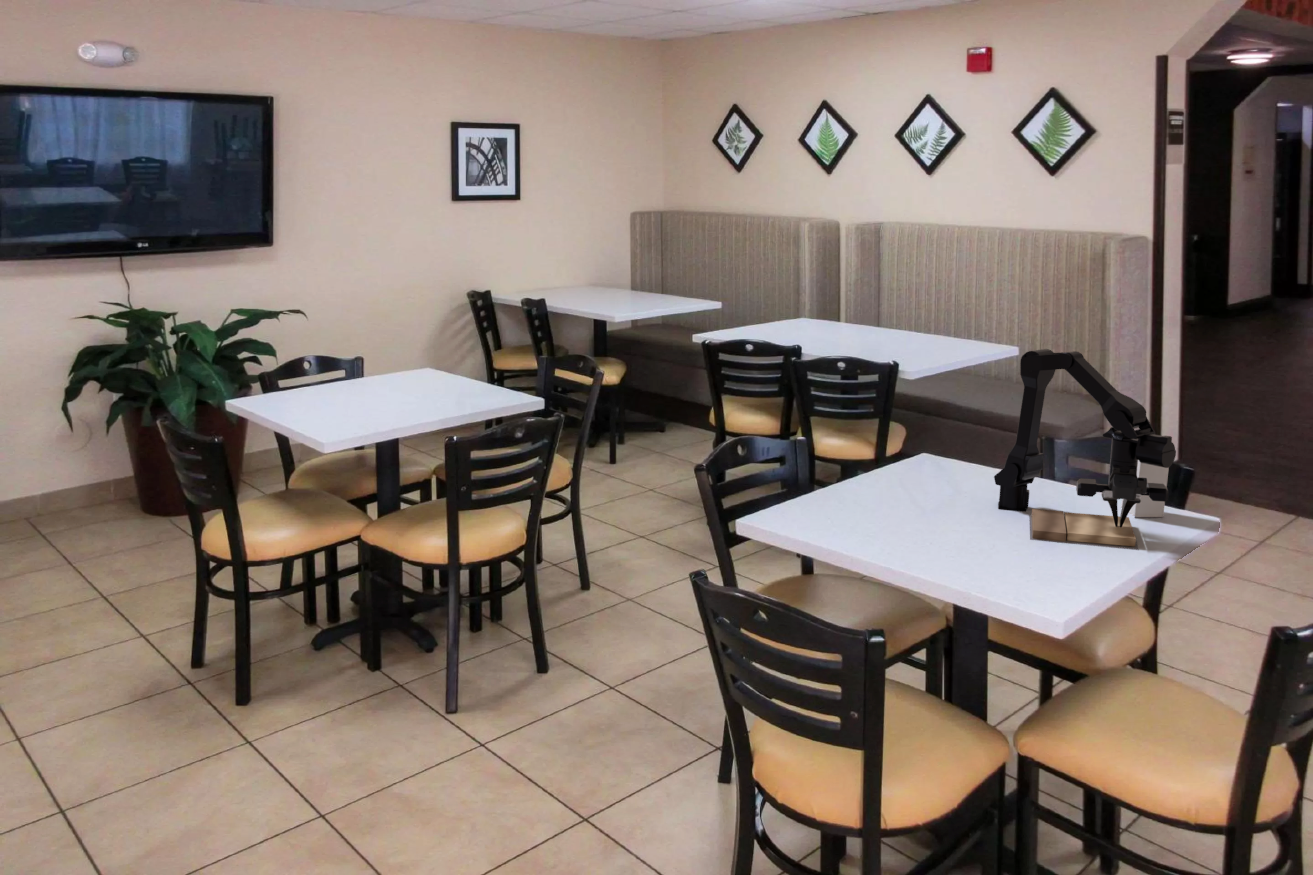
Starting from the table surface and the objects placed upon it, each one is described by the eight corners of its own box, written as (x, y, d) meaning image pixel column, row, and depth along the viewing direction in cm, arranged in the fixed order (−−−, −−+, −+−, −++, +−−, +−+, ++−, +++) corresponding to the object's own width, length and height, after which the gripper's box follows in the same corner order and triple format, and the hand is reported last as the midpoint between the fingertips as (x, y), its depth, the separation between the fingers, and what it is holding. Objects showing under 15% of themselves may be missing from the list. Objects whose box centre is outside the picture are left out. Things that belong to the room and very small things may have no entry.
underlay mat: (1029, 541, 249) (1030, 539, 249) (1029, 516, 268) (1029, 515, 267) (1138, 551, 242) (1139, 549, 242) (1130, 525, 261) (1130, 524, 261)
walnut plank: (1032, 538, 250) (1033, 530, 249) (1031, 516, 266) (1032, 508, 266) (1065, 541, 248) (1066, 533, 247) (1062, 519, 264) (1063, 511, 264)
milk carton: (1120, 509, 274) (1128, 434, 270) (1148, 509, 275) (1156, 434, 271) (1134, 518, 267) (1142, 440, 263) (1163, 517, 268) (1172, 440, 264)
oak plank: (1067, 540, 248) (1067, 532, 248) (1064, 519, 264) (1064, 512, 263) (1135, 546, 244) (1135, 538, 243) (1128, 524, 260) (1128, 517, 259)
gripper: (1081, 465, 244) (1076, 533, 247) (1174, 470, 239) (1167, 540, 242) (1078, 453, 255) (1073, 519, 258) (1167, 458, 249) (1161, 526, 252)
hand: (1118, 526), depth 252 cm, fingers closed, pressing on oak plank
